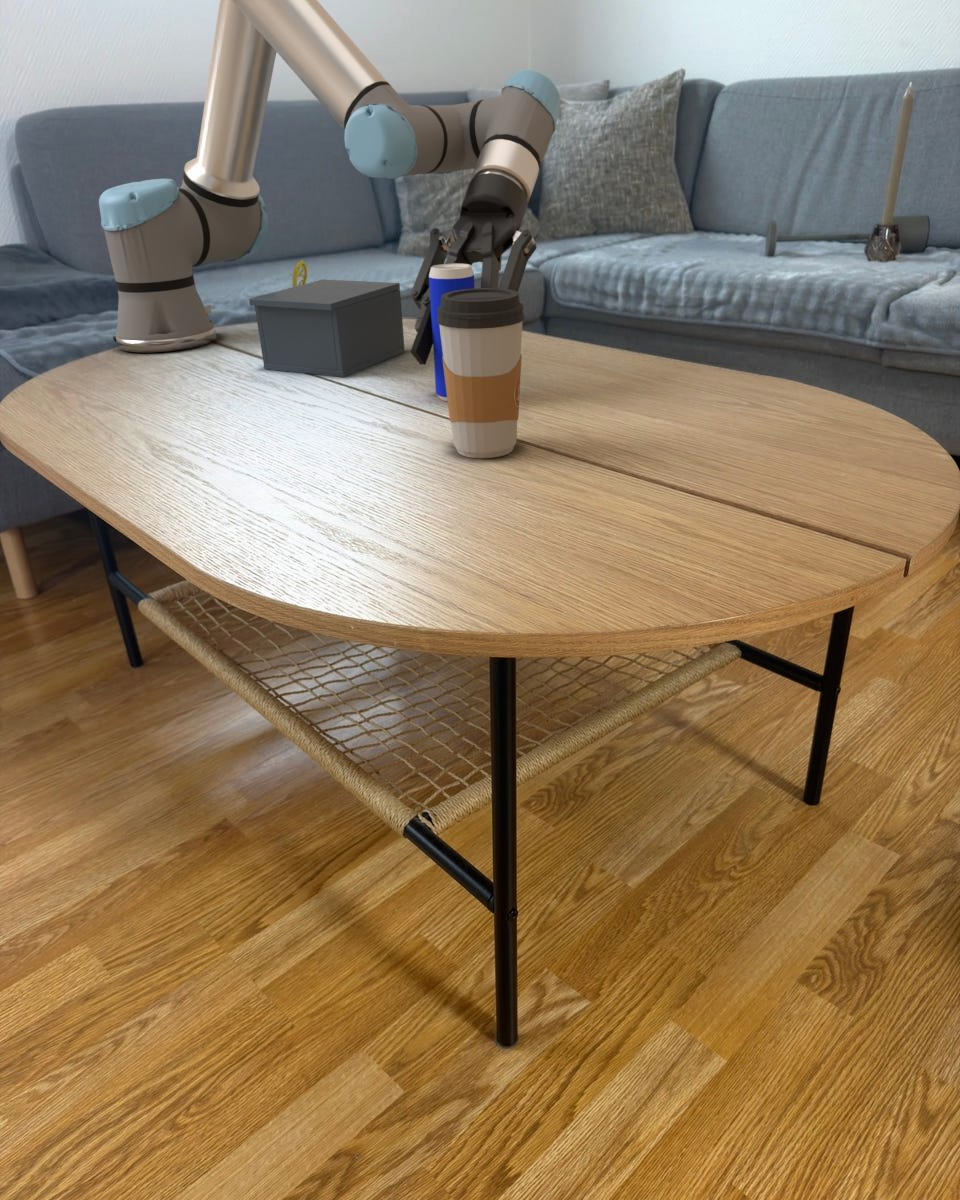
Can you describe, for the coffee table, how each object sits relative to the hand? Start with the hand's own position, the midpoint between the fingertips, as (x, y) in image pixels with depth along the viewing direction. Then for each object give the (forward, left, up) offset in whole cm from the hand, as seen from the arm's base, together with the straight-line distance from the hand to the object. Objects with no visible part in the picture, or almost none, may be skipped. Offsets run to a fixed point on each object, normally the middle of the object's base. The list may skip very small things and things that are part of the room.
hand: (439, 359), depth 100 cm
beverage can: (0, +4, -6) cm, 7 cm away
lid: (-26, +14, +4) cm, 30 cm away
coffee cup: (+12, -12, -6) cm, 18 cm away
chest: (-26, +15, -5) cm, 30 cm away
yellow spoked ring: (-46, +30, -6) cm, 55 cm away
